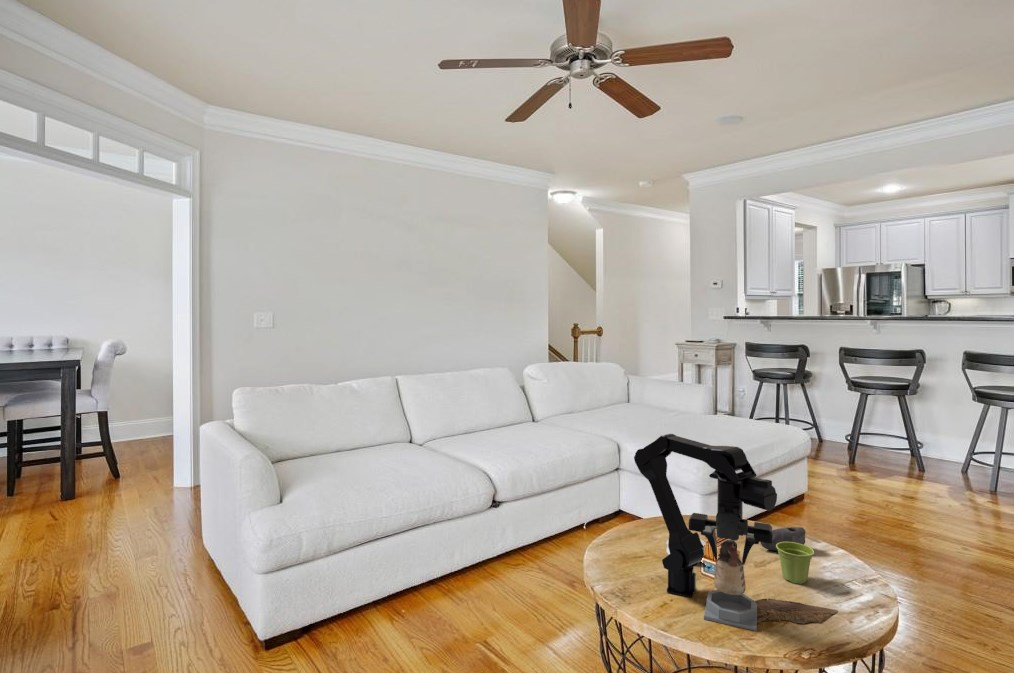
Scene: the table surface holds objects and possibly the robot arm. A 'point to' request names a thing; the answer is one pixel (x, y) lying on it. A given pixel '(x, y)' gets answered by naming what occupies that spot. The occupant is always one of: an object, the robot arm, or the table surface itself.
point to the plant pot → (794, 561)
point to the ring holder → (731, 610)
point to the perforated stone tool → (785, 537)
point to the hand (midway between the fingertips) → (729, 561)
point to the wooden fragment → (791, 611)
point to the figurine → (729, 570)
